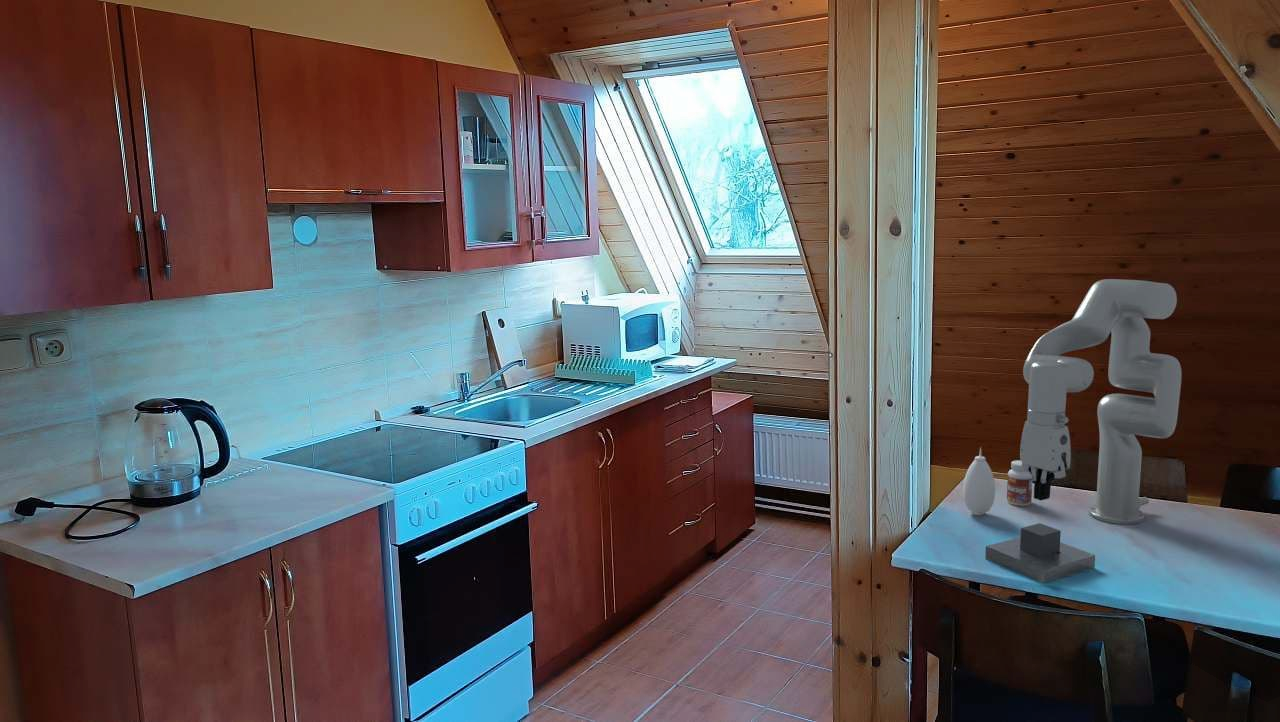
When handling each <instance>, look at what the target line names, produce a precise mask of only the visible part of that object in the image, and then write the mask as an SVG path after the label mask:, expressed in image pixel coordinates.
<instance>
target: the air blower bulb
mask: <svg viewBox="0 0 1280 722" xmlns="http://www.w3.org/2000/svg"><path fill="white" fill-rule="evenodd" d="M962 485H963V486H962V495H963V500H964V504H965V506H966V508H967V510H968V511H970V513H971V514H973V515H975V516H978V517H979V516H982V515H985V514H986V513H988V512H990V509H991V508H992V507H993V505H994V502H995V498H996V484H995V479H994V474H993V471H992V469H991V467H990V465H989V464H988V462H987V460H986V457H985V456H983V455H982V446H981V447H979V455H977V456H975V457H974V459H973V461H972V463H970V465H969V467H968V469H967V471H966V473H965V476H964V481H963V484H962Z"/></svg>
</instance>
